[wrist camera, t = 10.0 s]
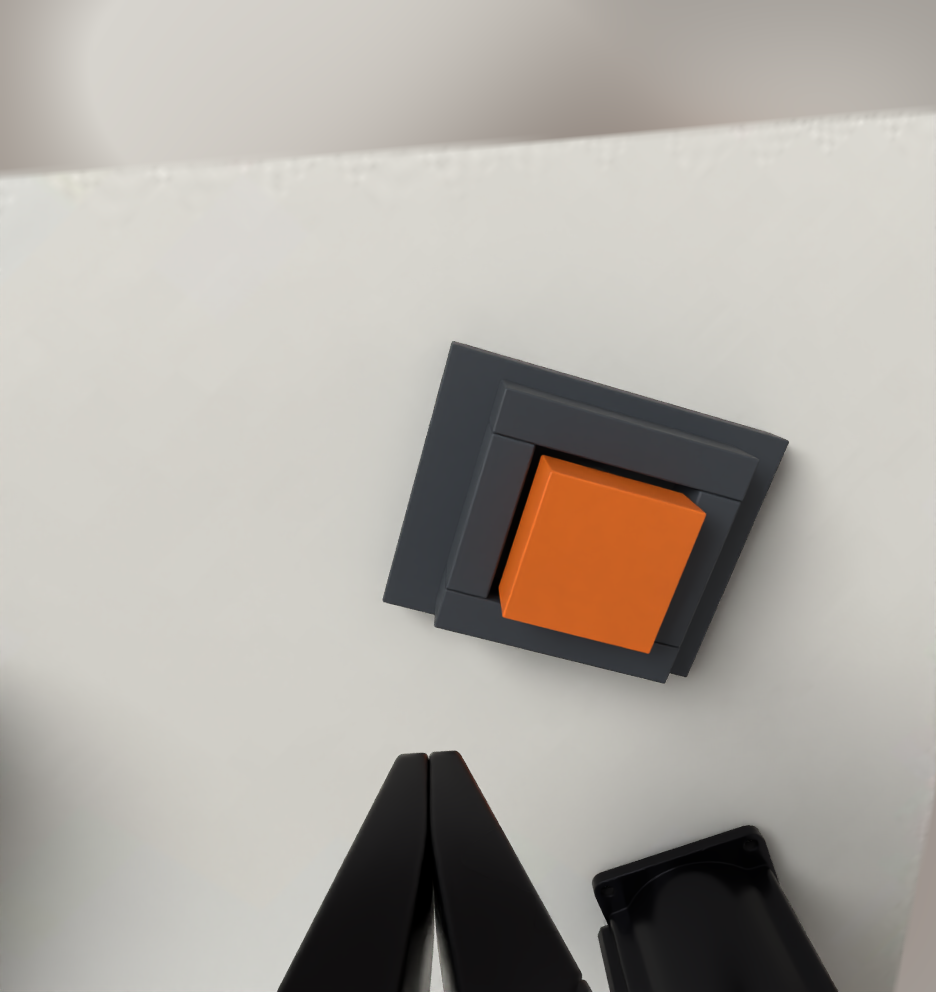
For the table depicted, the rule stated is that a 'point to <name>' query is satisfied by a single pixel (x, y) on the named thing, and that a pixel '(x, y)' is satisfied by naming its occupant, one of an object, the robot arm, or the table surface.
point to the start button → (598, 554)
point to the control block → (581, 440)
